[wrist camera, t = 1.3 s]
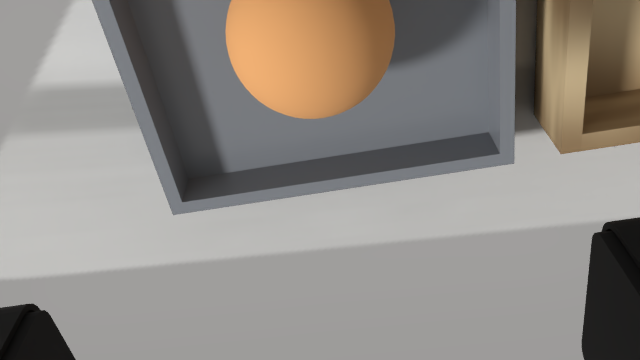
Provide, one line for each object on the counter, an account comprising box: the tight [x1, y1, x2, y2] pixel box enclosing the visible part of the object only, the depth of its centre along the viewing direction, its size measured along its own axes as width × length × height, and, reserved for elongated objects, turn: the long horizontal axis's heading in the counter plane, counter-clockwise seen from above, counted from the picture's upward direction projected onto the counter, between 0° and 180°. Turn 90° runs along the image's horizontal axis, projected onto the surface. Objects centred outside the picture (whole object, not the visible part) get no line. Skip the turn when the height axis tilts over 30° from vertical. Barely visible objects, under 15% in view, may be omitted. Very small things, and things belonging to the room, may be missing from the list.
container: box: [92, 0, 516, 215], centre depth 24 cm, size 15×15×2 cm
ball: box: [225, 0, 395, 119], centre depth 22 cm, size 6×6×6 cm
